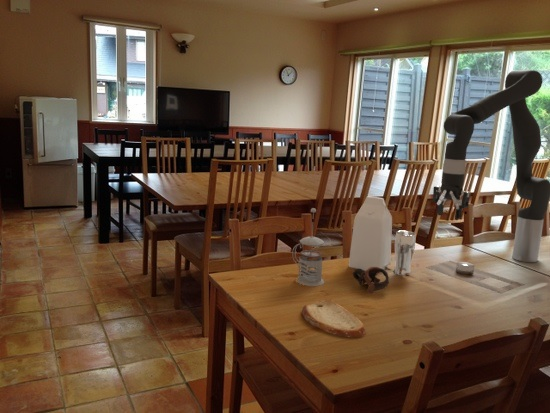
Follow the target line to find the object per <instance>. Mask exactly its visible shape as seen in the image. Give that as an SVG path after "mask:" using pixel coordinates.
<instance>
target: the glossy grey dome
mask: <svg viewBox="0 0 550 413" xmlns="http://www.w3.org/2000/svg"><path fill="white" fill-rule="evenodd" d="M474 268H475V264H473V263H472V262H471V263H470V262H468V261H467V262H466V261H458V262H456V273H458V274H461V275H473V273H474Z"/></svg>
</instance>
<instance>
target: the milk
mask: <svg viewBox="0 0 550 413" xmlns="http://www.w3.org/2000/svg"><path fill="white" fill-rule="evenodd" d="M386 205H387V204H386V201H385V199H384V197H376V196H369V195H368V196H366V197H365V199H364V201H363V204H362V205H361V207H360V209H358V211H357V213H356V215H355V217H354V220H353V226H352V233H351V234H352V235H351V243H350V251H349V261H348V267H349V268H352V269H357V268H359V269H362V270H364V271H366V270H367V269H369V268H370V267H379V268H382V269H383V270H385V271H386V269H388V267H387V266H389V265H391V260H392V257H391V256H392V235H393V234H392V231H393V229H392V228H393V216H392V214H391V213H390V210H389V209H388V207H387V206H386ZM381 273H382V272H380V273H378V274H381Z"/></svg>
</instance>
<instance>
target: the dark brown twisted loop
mask: <svg viewBox="0 0 550 413" xmlns="http://www.w3.org/2000/svg"><path fill="white" fill-rule="evenodd" d="M380 272H381V273H382V274H383V276H384V277H385V280H384V281H383V280H382V281H381V279H380V278H378V277H376V276H377V274H379V273H380ZM381 273H380V274H381ZM352 275H353V278H354V279H355V280H356V281H357V283H358V285H359V286H360V285H365V284H367V285H368V288H367V289H366V290H367V291H366V292H367V293H369V294H373V293H374V292H379V291H383V290H385V289H386V288H387V287H388V285H389V284H390V280H389V274H388V272H387V271H386V269H385V270H383V269H382V268H379V267H370V268H369V269H367V270H362V269H359V268H357V269H356V268H354V270H353V271H352Z"/></svg>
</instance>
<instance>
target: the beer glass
mask: <svg viewBox="0 0 550 413" xmlns="http://www.w3.org/2000/svg"><path fill="white" fill-rule="evenodd" d="M416 235H417V234H416V232H413V231H409V230H398V231H396V233H395V240H394V256H395V257H394V258H395V259H394V260H395V265H394V269H393V274H394V275H396V276H400V277H410V275H409V274H410V273H411V272H412V270H411V269H412V268H411V266H412V261H413V258H414V253H415V250H416V249H415V248H416Z"/></svg>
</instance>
